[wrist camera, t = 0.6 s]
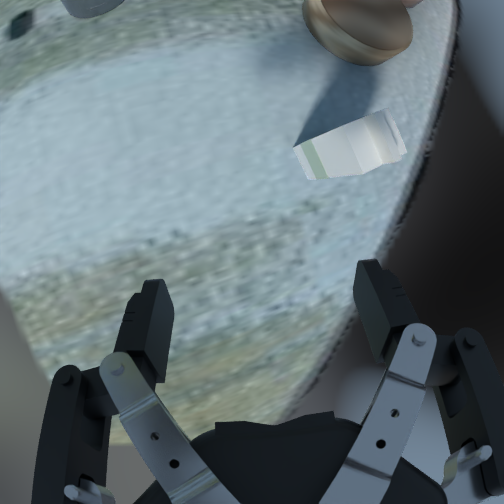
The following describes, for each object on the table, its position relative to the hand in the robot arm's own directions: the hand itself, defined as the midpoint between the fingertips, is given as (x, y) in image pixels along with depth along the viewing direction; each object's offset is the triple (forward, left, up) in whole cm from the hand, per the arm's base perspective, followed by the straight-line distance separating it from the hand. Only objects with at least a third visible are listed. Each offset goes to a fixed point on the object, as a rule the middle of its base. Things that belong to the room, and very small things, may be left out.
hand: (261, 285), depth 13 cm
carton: (-3, +14, -21) cm, 25 cm away
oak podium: (-18, +28, -21) cm, 39 cm away
